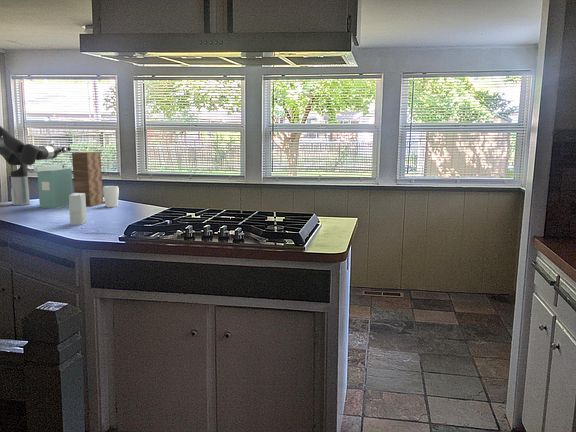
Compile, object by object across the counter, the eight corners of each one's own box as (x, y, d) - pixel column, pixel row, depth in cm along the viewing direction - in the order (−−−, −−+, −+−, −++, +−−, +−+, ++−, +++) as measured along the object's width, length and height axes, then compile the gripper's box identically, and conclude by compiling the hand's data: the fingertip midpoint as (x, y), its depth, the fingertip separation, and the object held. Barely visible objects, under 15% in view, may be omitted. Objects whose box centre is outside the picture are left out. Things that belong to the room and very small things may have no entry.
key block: (54, 208, 306) (51, 170, 302) (39, 207, 308) (36, 170, 305) (73, 204, 324) (71, 168, 320) (59, 203, 326) (57, 168, 322)
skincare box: (75, 222, 262) (73, 192, 259) (87, 222, 262) (85, 192, 260) (69, 225, 254) (67, 194, 251) (82, 225, 254) (80, 194, 252)
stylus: (37, 171, 297) (37, 167, 296) (34, 171, 297) (33, 167, 297) (64, 168, 320) (64, 164, 319) (61, 168, 320) (61, 164, 320)
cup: (103, 205, 317) (102, 186, 315) (118, 204, 321) (117, 185, 319) (104, 207, 309) (103, 187, 307) (120, 206, 313) (119, 187, 311)
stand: (90, 206, 312) (87, 153, 307) (72, 206, 315) (69, 152, 309) (105, 203, 328) (102, 151, 322) (88, 202, 330) (85, 151, 325)
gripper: (36, 161, 281) (53, 159, 297) (61, 156, 279) (76, 154, 295) (33, 147, 280) (49, 146, 296) (57, 142, 278) (73, 141, 294)
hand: (63, 150), depth 295 cm, fingers open, 8 cm apart
